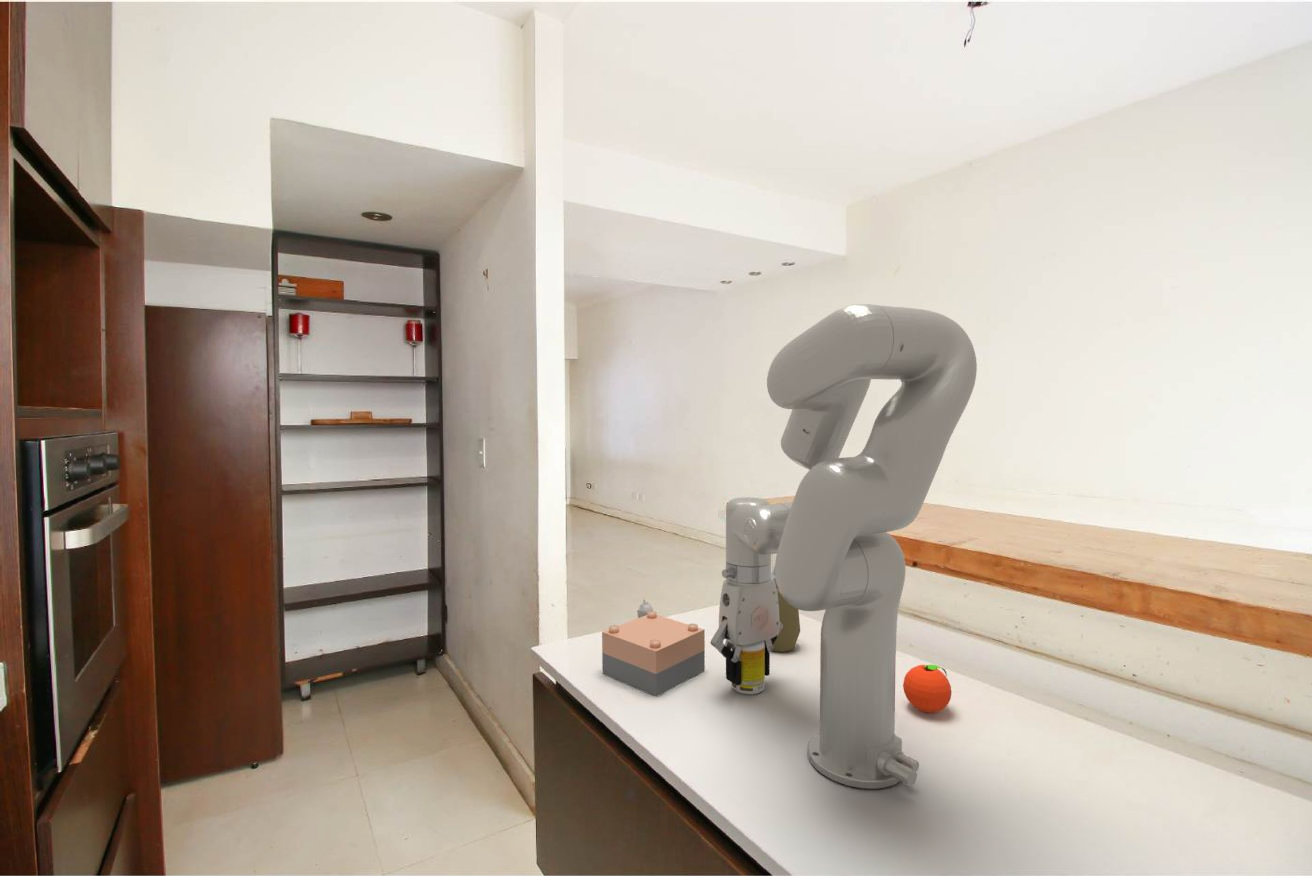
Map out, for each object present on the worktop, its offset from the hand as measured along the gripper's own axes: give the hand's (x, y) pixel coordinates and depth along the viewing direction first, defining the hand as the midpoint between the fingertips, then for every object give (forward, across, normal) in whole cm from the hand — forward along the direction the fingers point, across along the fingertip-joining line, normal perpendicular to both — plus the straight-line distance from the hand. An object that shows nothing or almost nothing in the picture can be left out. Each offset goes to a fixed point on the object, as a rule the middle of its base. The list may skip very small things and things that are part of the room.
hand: (747, 676), depth 103 cm
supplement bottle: (+2, 0, 0) cm, 2 cm away
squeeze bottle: (+2, +17, +10) cm, 20 cm away
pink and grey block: (+2, -10, +14) cm, 17 cm away
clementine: (+2, +19, -21) cm, 28 cm away
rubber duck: (+2, -2, +29) cm, 29 cm away
